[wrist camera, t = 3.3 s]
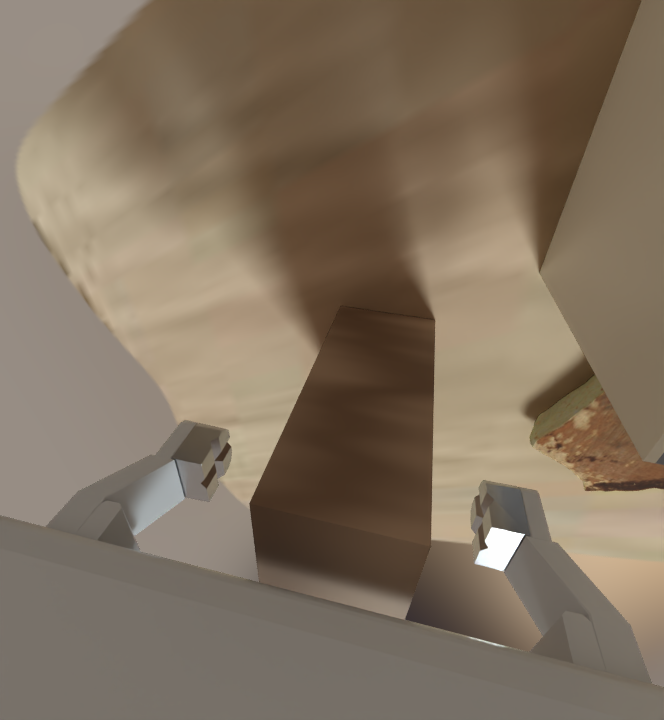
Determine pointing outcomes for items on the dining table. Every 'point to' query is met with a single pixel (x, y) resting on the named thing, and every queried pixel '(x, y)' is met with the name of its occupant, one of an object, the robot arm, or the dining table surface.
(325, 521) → the walnut block
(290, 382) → the dining table surface
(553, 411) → the shard
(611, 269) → the slate board
